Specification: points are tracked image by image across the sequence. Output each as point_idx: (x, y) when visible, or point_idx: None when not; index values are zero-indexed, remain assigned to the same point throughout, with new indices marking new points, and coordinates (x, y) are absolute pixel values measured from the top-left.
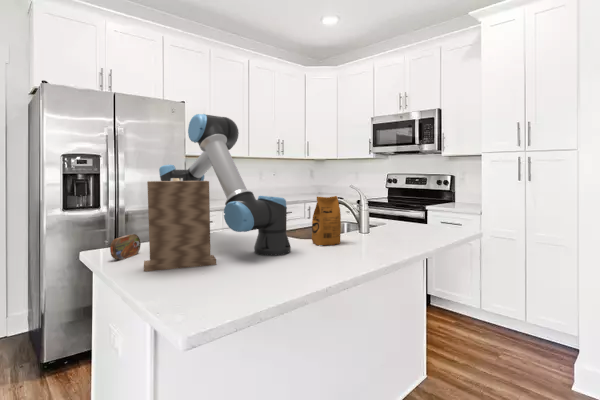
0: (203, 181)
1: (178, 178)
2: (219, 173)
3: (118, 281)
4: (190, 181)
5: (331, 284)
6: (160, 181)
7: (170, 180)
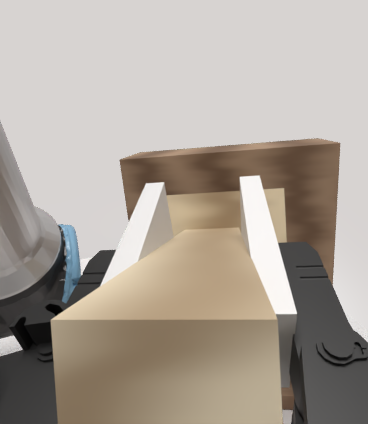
0: (155, 151)
1: (82, 309)
2: (8, 143)
3: (355, 324)
4: (191, 148)
5: (82, 259)
6: (283, 143)
7: (274, 232)
